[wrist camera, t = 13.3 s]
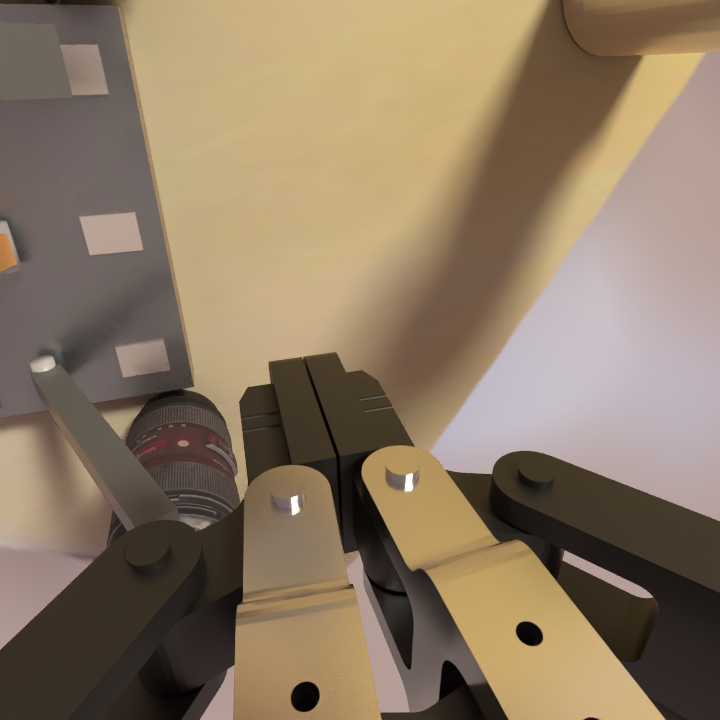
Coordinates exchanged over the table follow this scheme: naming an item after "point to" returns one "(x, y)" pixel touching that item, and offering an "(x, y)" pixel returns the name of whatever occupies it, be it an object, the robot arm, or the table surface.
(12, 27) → the lever low
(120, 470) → the lever high
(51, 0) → the coffee box
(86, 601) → the robot arm
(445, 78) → the table surface
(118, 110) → the breaker panel
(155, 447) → the camera lens
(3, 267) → the lever mid
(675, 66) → the table surface
